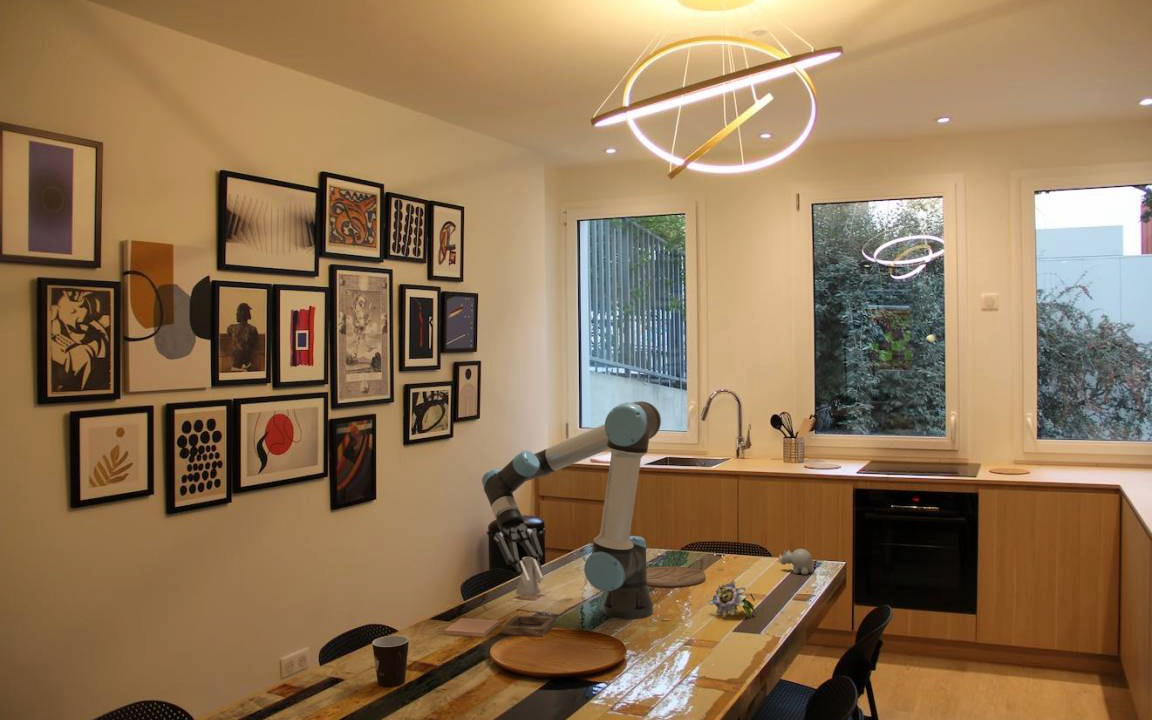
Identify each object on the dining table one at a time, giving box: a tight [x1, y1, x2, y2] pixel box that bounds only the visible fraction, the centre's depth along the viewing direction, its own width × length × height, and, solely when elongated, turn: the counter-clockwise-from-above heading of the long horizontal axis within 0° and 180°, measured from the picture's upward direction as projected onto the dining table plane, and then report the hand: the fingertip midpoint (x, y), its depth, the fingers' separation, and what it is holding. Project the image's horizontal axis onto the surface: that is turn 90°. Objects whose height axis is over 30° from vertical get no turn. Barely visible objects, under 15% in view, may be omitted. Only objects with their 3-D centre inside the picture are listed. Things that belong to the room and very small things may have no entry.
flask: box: [515, 556, 541, 596], centre depth 252 cm, size 7×7×10 cm
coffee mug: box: [372, 635, 410, 689], centre depth 210 cm, size 12×9×10 cm
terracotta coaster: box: [443, 617, 500, 638], centre depth 253 cm, size 12×12×1 cm
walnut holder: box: [501, 614, 557, 637], centre depth 252 cm, size 12×12×2 cm
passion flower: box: [707, 579, 756, 619], centre depth 262 cm, size 11×11×12 cm
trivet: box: [646, 565, 706, 589], centre depth 307 cm, size 25×25×2 cm
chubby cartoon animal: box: [779, 548, 814, 576], centre depth 312 cm, size 7×12×8 cm, turn 48°
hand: (533, 581), depth 249 cm, fingers closed on flask, 3 cm apart
